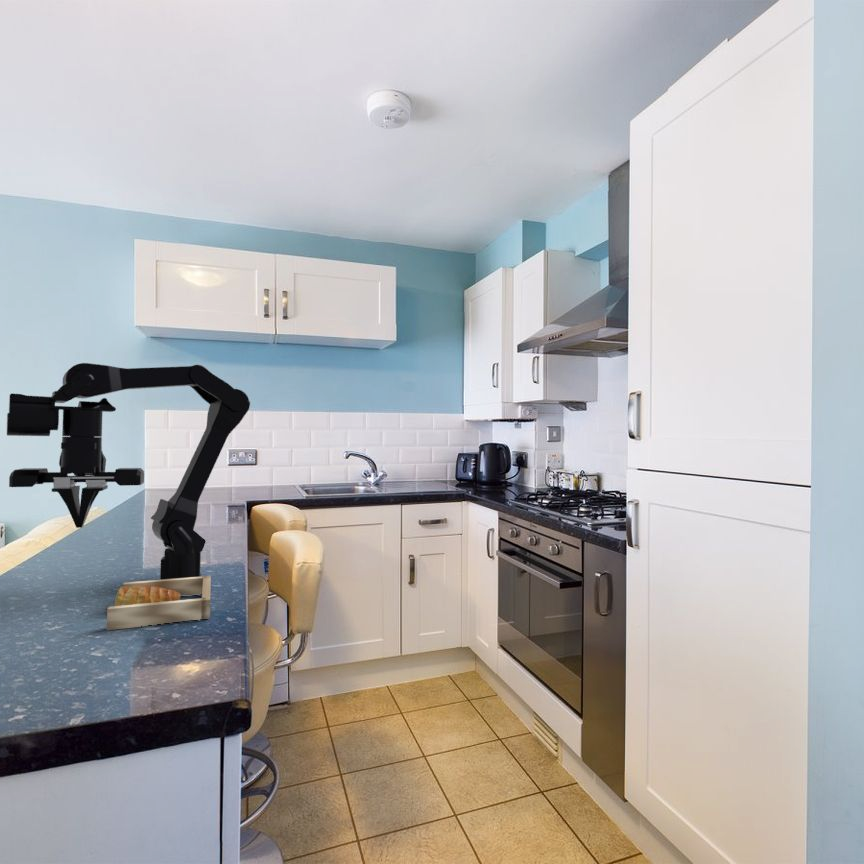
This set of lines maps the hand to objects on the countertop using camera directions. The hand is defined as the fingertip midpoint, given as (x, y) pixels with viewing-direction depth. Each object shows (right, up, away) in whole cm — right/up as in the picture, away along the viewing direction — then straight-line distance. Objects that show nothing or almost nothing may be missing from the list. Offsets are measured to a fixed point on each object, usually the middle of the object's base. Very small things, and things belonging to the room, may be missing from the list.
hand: (79, 527), depth 90 cm
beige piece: (+17, -12, -6) cm, 22 cm away
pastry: (+14, -13, -5) cm, 19 cm away
